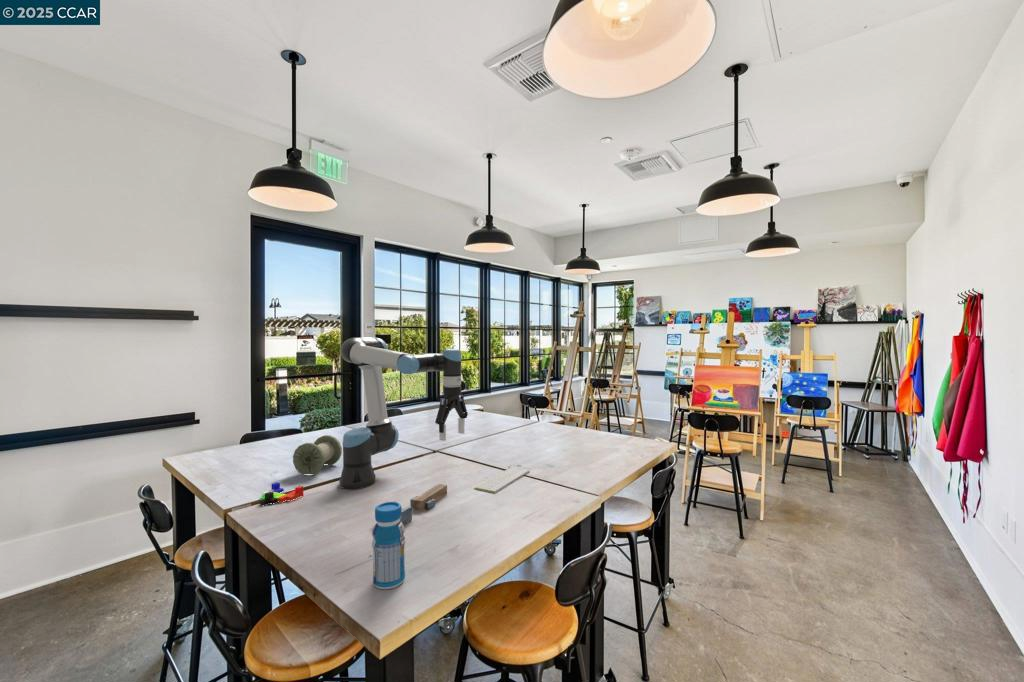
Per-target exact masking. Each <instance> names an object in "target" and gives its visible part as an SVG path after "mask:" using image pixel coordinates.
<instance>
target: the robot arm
mask: <svg viewBox="0 0 1024 682" xmlns="http://www.w3.org/2000/svg"><path fill="white" fill-rule="evenodd" d="M339 352H340V355H341V357H342V359H343V360H344V361H345V362H348V363H352V364H355V365H358V369H360V370H362V375H363V377H362V378H363V383H364V392H365V393H364V394H365V400H366V401H365V402H366V408H367V409H366V410H367V417H368V422H367V423H366V424H365V426H364V427H358V428H357V427H356V428H353V429H349V430H347V431H345V433H344V434H343V436H342V458H343V459H342V461H343V462H342V464H343V465H342V470H341V474H340V478H339V479H338V480H339V481H338V484H339V485H338V486H339V487H340V488H342V489H345V490H346V489H347V490H356V489H363V488H367V487H369V486H372V485H374V484H375V483H376V481H377V480H376V479H377V478H376V477H377V476H376V474H375V471H374V468H373V465H372V456H374V455H377V454H380V453H383V452H388V451H389V450H391V449H394V448H395V447H396V445H397V444H398V440H399V430H398V429H397V427H396V425H394V424H393V423H392V420H391V419H389V416H388V411H387V409H388V408H387V401H386V393H385V392H386V391H385V386H384V377H383V369H382V368H387V369H390V370H395V371H398V372H400V373H401V374H403V375H413V374H419V373H420V374H421V373H428V372H442V374H443V375H442V378H443V379H442V386H443V387H442V395H443V396H444V397H445V398H444V399H440V400H439V407H438V411H437V414H436V419H435V422H434V423H435V425H438V433H439V434H438V435H439V436H438V437H439V439H438V440H439V441H443V442H445V441H446V442H447V425H446V421H447V419H448V416H449V414H450V412H452V410H453V409H454V410H455V412H456V413H457V415H458V419H457V421H458V422H457V424H458V425H457V426H458V427H457V433H458V434H462V435H464V434H465V419H467V418H468V416H469V414H468V409H467V407H466V403H465V398H464V395H462V386H461V385H462V361H463V360H462V352H461V350H460V349H456V348H454V349H452V348H450V349H449V348H448V349H447V348H446V349H444V350H442V353H431V352H429V353H428V352H426V353H425V352H424V353H420V354H412V353H406V352H401V351H397V350H396V351H395V350H390V349H389V347H388V346H387V343H386V342H385V340H383V339H382V338H379V337H373V336H372V337H371V336H370V337H351V338H348V339H346V340H345V341H344V342H343V343H342V344H341V347H340V351H339Z"/></svg>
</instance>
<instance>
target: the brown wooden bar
mask: <svg viewBox="0 0 1024 682" xmlns="http://www.w3.org/2000/svg"><path fill="white" fill-rule="evenodd" d="M447 494H448V484H443V483H437V484H436V485H434V486H433V487H431V488H429V489H427V490H426V491H425V492H423V493H421V494H420V495H417V496H418V497H417V498H415V499H413V506H412V511H420V512H423V511H424V510H426V509H425V502H427V501H429V500H430V499H435V503H436V502H438V501H439V500H441V499H442V498H444V497H445V496H446V495H447Z"/></svg>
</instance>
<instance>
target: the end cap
mask: <svg viewBox="0 0 1024 682" xmlns="http://www.w3.org/2000/svg"><path fill="white" fill-rule="evenodd" d="M401 509H402V515H401V518H400V520H401V522H402V524H403V525H405V524H407V523H409V522H410V521H412V520H413V506H410V505H407V506H406V507H404V508H401Z"/></svg>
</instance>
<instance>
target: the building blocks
mask: <svg viewBox="0 0 1024 682" xmlns="http://www.w3.org/2000/svg"><path fill="white" fill-rule="evenodd" d="M280 485H281V483H280V482H276V481H275V482H273V483H271V489H267V490H266V491H263V492H262V494H261V497H260V500H259V505H260V504H261V505H265V504H267V505H269V504H268V503H272V504H271V505H274V504H273V503H275V504H277V503H276V502H278V501H279V502H283V501H285V500H290V501H291V500H293V499H296V498H298V497H300V496H302V497H304V486H302V485H298V486H296V487H295V488H294V490H293V491H291V492H288V493H280V492H282V491H284V492H285V489H284V488H282V487H281V486H280ZM300 498H301V497H300ZM298 499H299V498H298ZM296 500H297V499H296ZM293 501H294V500H293ZM279 502H278V503H279ZM291 502H292V501H291ZM283 503H284V502H283ZM261 505H260V506H261ZM265 506H266V505H265Z"/></svg>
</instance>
